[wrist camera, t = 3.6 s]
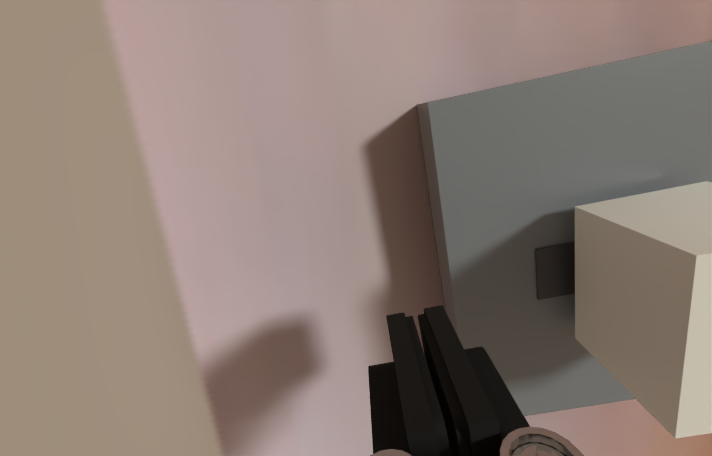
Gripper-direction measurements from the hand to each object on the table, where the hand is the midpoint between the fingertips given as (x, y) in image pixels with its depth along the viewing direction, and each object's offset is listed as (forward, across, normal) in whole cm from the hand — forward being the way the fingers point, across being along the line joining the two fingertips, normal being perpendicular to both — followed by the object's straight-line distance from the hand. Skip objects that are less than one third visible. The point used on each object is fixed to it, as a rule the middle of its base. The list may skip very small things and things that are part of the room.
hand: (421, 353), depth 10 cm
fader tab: (+2, -8, 0) cm, 8 cm away
